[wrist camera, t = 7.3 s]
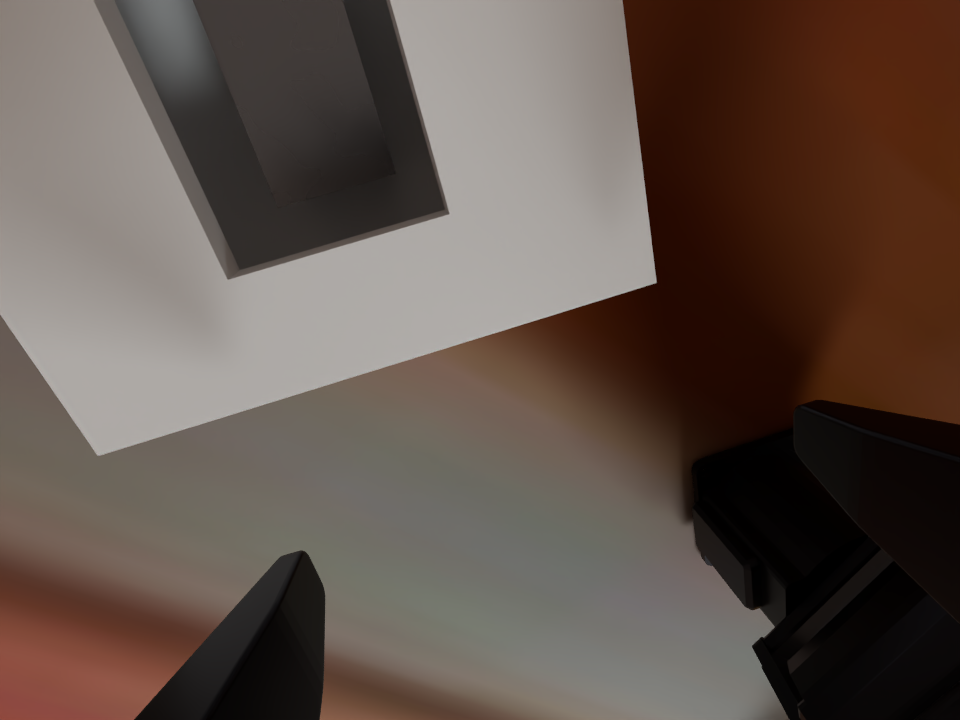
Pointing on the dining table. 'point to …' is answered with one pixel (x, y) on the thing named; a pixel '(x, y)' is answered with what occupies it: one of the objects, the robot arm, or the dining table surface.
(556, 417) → the dining table surface
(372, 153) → the silver metal block
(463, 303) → the box
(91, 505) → the dining table surface
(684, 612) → the dining table surface
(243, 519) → the dining table surface
